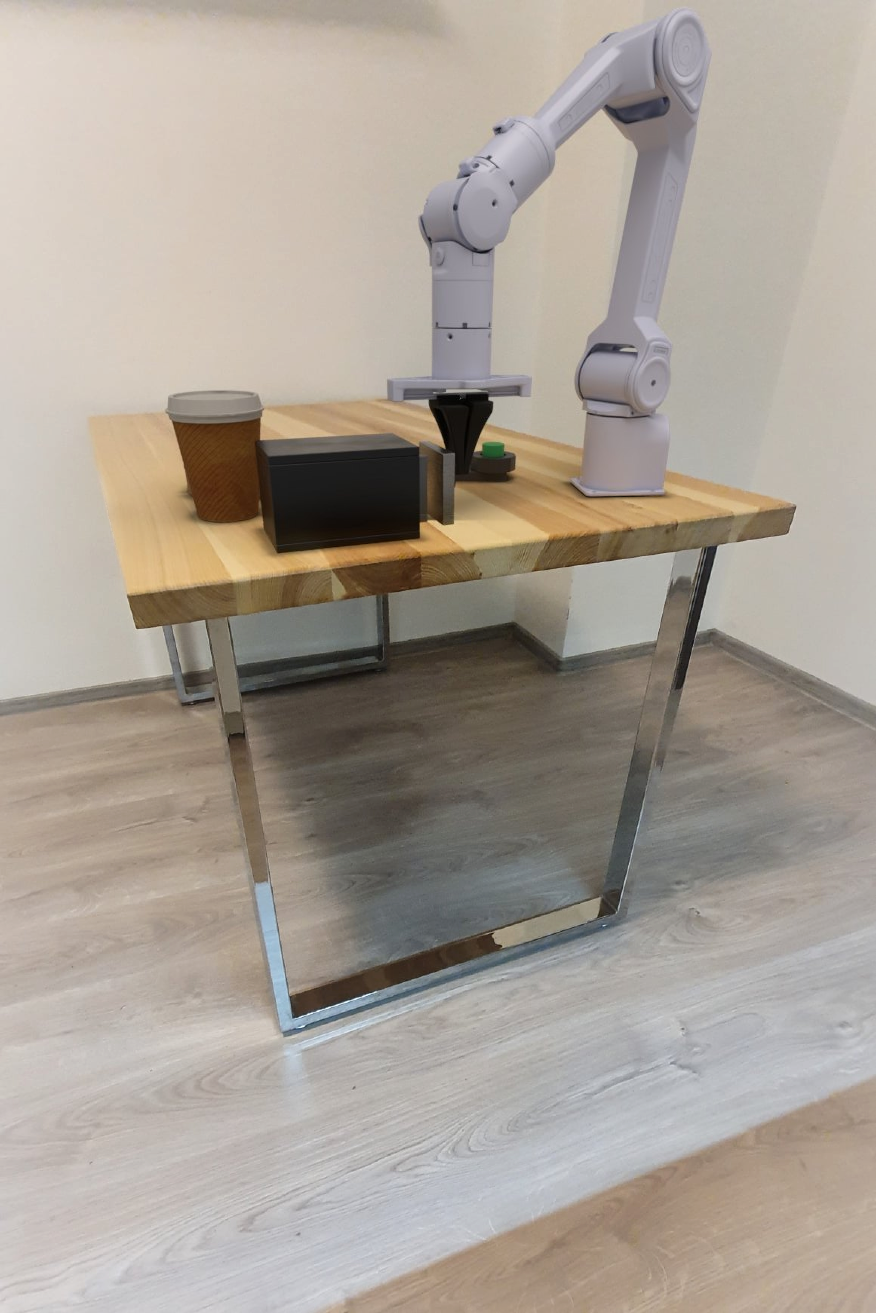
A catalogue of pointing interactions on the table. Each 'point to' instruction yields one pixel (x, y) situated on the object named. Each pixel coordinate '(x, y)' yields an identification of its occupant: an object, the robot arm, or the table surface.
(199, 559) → the table surface
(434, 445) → the drawer
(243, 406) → the disposable coffee cup
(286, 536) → the cabinet
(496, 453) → the button
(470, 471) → the control block
